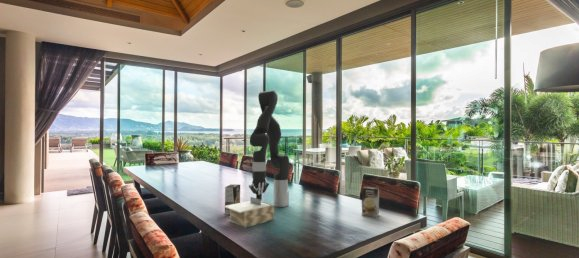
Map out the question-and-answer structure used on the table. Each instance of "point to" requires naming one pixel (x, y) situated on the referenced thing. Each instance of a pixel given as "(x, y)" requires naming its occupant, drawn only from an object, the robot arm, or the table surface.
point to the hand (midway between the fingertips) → (258, 201)
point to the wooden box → (253, 216)
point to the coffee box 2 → (370, 201)
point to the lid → (247, 205)
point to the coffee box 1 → (231, 196)
